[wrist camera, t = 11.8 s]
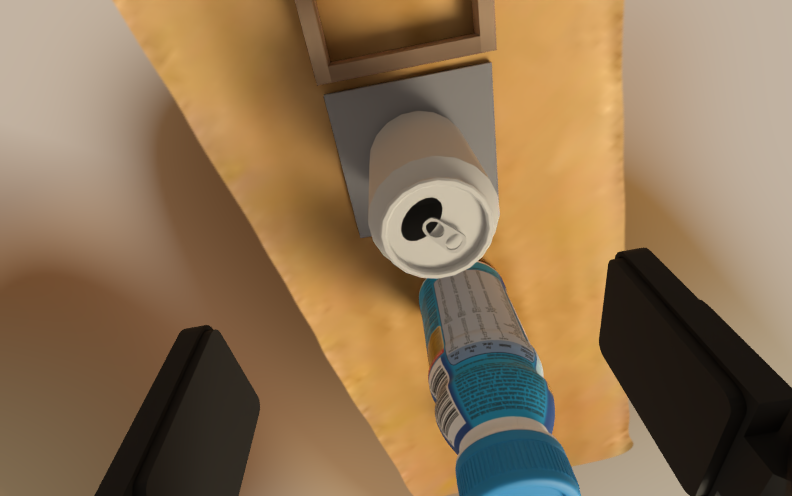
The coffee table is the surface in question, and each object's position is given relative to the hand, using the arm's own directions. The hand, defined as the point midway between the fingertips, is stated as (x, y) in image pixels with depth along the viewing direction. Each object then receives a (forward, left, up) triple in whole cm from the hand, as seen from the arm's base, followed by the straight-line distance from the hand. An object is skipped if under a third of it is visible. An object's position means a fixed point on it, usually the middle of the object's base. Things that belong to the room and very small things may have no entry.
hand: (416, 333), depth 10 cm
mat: (+5, +2, -24) cm, 25 cm away
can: (+4, +2, -24) cm, 24 cm away
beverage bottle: (+19, +4, -24) cm, 31 cm away
